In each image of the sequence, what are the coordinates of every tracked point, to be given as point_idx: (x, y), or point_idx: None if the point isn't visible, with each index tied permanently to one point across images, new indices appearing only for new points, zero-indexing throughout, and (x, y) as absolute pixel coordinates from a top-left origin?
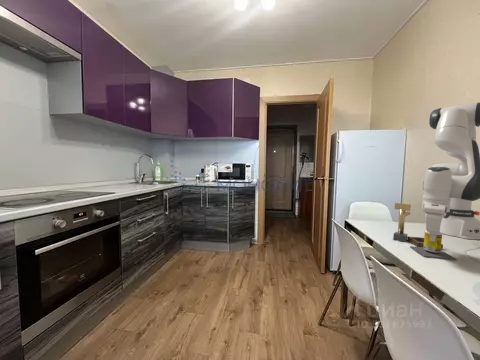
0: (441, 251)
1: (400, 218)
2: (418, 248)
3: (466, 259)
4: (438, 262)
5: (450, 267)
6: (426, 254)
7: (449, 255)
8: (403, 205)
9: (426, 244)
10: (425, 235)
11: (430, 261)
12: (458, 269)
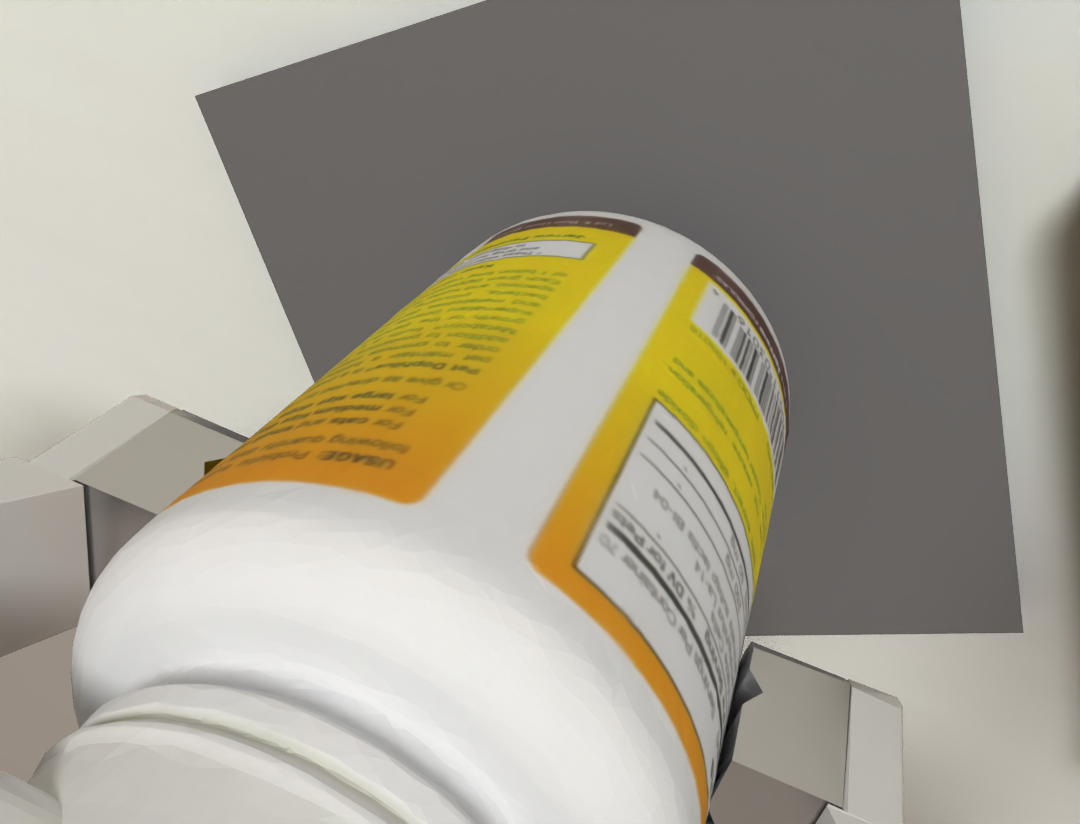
0: (790, 590)
1: None
2: (770, 97)
3: None
4: (102, 285)
5: (9, 383)
6: (321, 179)
7: None
8: None
9: (420, 295)
10: (318, 406)
11: (47, 156)
12: (14, 457)
